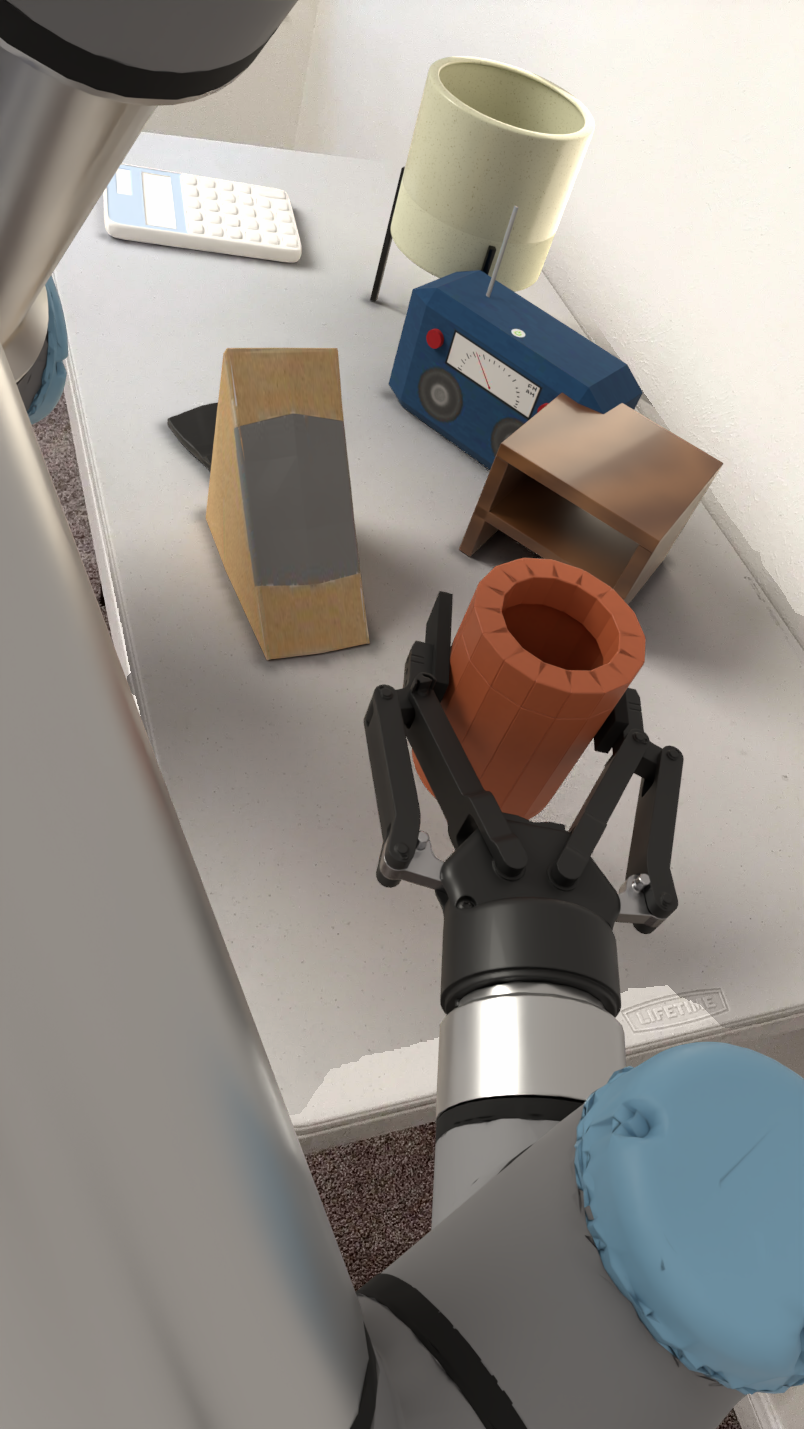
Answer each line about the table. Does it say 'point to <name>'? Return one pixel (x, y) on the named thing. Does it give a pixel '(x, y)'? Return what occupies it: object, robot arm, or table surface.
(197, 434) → the dark sector wedge
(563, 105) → the planter
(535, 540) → the shelf
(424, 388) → the radio
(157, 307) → the table surface
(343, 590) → the sandwich container
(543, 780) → the canister
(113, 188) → the calculator
